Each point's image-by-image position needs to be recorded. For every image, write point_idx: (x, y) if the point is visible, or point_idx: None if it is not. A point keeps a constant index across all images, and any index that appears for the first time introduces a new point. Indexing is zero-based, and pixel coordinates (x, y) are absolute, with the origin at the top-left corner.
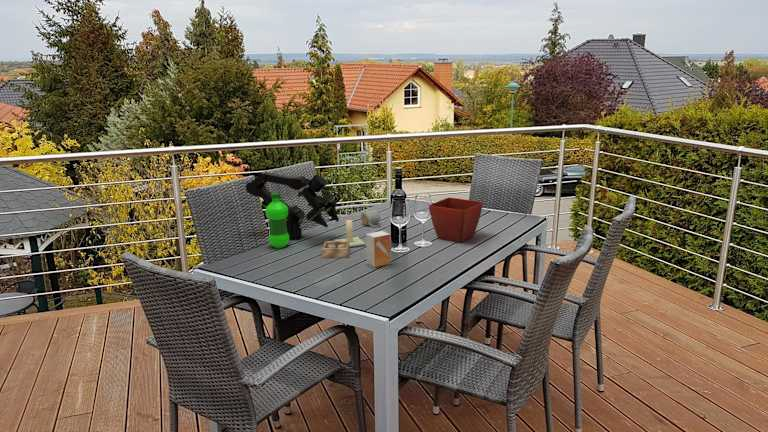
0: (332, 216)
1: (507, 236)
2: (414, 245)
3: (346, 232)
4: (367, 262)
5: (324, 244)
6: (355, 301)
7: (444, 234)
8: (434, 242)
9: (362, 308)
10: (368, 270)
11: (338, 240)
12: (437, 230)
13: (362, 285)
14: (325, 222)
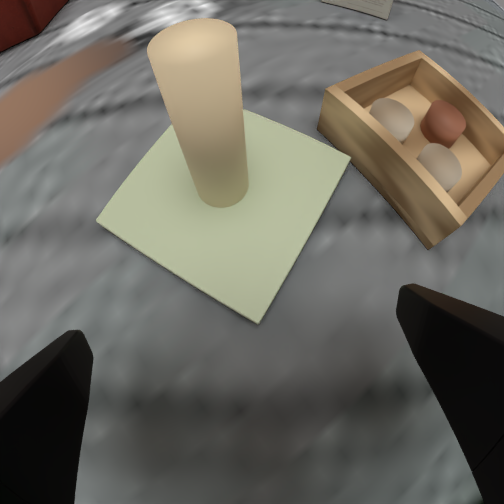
0: (60, 466)
1: None
2: (118, 17)
3: (241, 143)
4: (388, 14)
5: (491, 183)
6: (498, 13)
7: (49, 4)
8: (75, 16)
9: (495, 5)
10: (414, 10)
11: (250, 280)
12: (37, 8)
13: (467, 10)
14: (456, 306)
